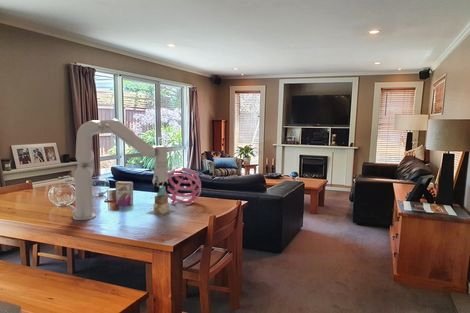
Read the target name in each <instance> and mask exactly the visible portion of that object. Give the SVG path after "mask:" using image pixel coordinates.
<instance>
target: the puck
mask: <svg viewBox="0 0 470 313" xmlns="http://www.w3.org/2000/svg"><path fill="white" fill-rule="evenodd" d="M158 186H159V192H156V193H157V194H156V195H157V196H165V195H166V194H165V191H166V190H165V186H162V185H158Z"/></svg>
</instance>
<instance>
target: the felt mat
mask: <svg viewBox="0 0 470 313" xmlns="http://www.w3.org/2000/svg"><path fill="white" fill-rule="evenodd" d="M175 212H176V210H174V209H169V212H166V213H164V214H159V213H154V209H153V210H151V211H148V212H146V213H145V214H148V215H153V216H161V217H165V216H167V215H170V214H172V213H175Z"/></svg>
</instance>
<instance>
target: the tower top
mask: <svg viewBox="0 0 470 313" xmlns="http://www.w3.org/2000/svg"><path fill="white" fill-rule="evenodd" d="M168 198H169V197H168V195H166V194H165V196H157V194H156V195H154V203H155V204H162V205H163V204H165V203H168V202H169V199H168Z"/></svg>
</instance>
